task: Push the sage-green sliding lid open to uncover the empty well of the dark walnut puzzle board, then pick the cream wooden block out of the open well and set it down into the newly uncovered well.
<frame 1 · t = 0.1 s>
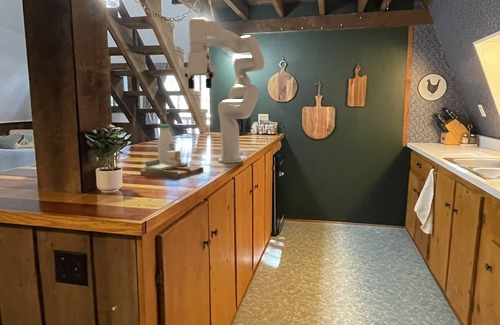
hand: (199, 88, 160), 37 cm above the countertop, tool pointing down, fingers open, 9 cm apart
block: (173, 166, 162), point 2 cm above the countertop, touching board
lid: (159, 164, 154), point 4 cm above the countertop, slide at 0.0 cm
milk bottle: (166, 165, 178), on the countertop
board: (172, 173, 157), on the countertop
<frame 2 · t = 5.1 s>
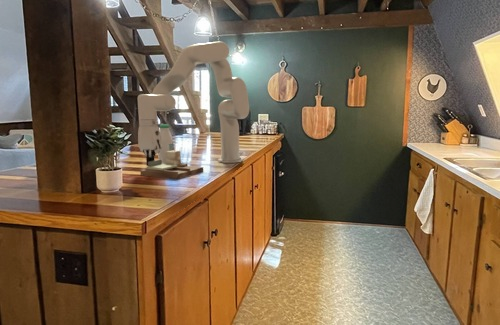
hand: (150, 165, 157), 4 cm above the countertop, tool pointing down, fingers closed
lid: (161, 164, 154), point 4 cm above the countertop, slide at 1.2 cm, touching gripper
everything else where it was.
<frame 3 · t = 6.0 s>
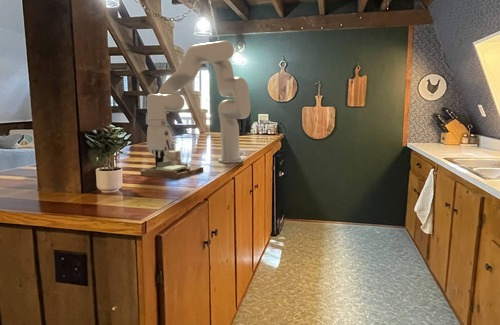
hand: (159, 166, 154), 4 cm above the countertop, tool pointing down, fingers closed
lid: (171, 165, 151), point 4 cm above the countertop, slide at 6.5 cm, touching gripper
everything else where it was.
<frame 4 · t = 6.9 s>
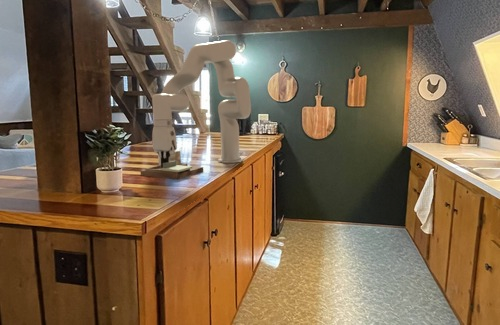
hand: (165, 166, 153), 4 cm above the countertop, tool pointing down, fingers closed
lid: (176, 166, 150), point 4 cm above the countertop, slide at 9.6 cm, touching gripper
everything else where it was.
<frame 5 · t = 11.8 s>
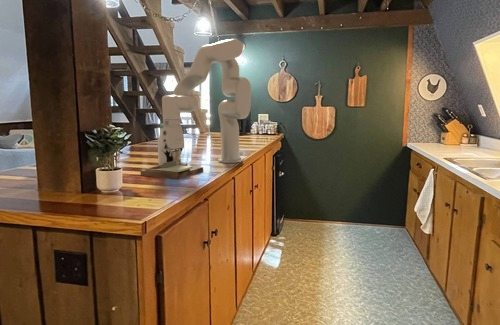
hand: (173, 163, 162), 3 cm above the countertop, tool pointing down, fingers closed on block, 4 cm apart
block: (173, 166, 162), point 2 cm above the countertop, touching board, gripper
lid: (177, 166, 149), point 4 cm above the countertop, slide at 9.7 cm
everything else where it was.
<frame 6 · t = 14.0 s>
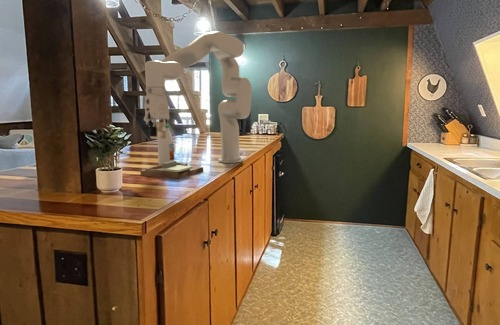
hand: (158, 135, 152), 17 cm above the countertop, tool pointing down, fingers closed on block, 4 cm apart
block: (158, 138, 152), point 16 cm above the countertop, touching gripper
everything else where it was.
when the fingers open (5 cm above the countertop, at t = 16.5 s): block drops 1 cm, resting on board.
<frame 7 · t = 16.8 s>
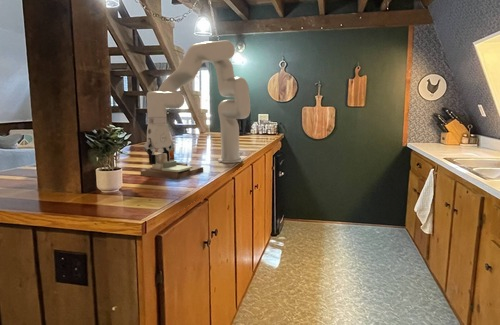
hand: (159, 162, 154), 5 cm above the countertop, tool pointing down, fingers open, 7 cm apart
block: (160, 169, 155), point 2 cm above the countertop, touching board
everything else where it was.
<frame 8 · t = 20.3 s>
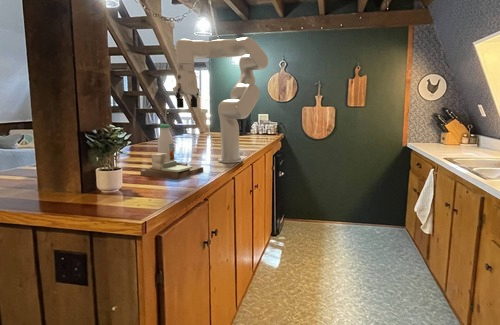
hand: (187, 107, 163), 28 cm above the countertop, tool pointing down, fingers open, 9 cm apart
nothing on the countertop moved.
at the end: lid slide at 9.7 cm; block 0.1 cm from the target spot on the board, point 2.0 cm above the board's base; block tilted 0° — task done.
